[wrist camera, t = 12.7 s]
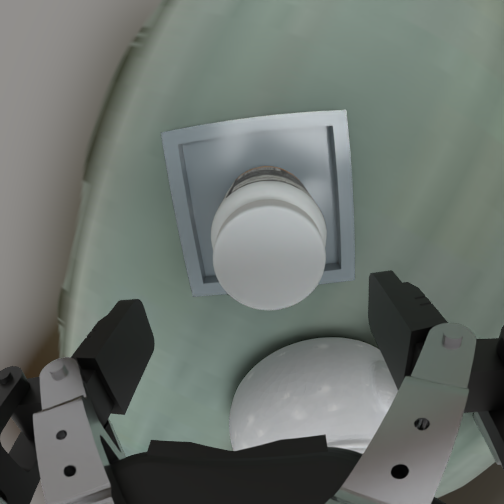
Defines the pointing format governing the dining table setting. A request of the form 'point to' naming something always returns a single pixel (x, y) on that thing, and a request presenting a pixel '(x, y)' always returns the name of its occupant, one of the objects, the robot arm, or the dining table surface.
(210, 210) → the dish
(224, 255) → the pill bottle
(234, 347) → the dining table surface
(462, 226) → the dining table surface
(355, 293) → the dining table surface
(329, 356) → the teapot
